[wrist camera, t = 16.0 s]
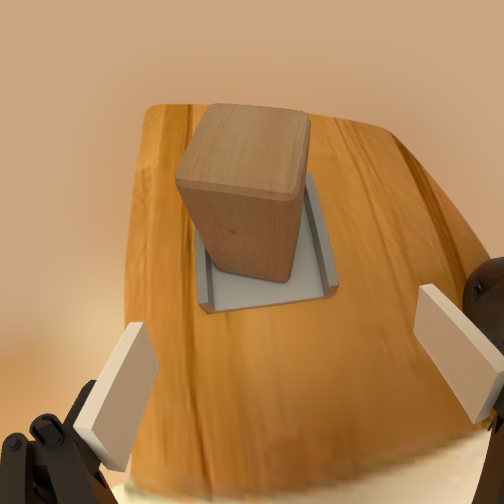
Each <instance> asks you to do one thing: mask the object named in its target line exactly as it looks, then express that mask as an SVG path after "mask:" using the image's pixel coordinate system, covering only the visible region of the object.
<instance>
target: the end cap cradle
mask: <svg viewBox="0 0 504 504" xmlns="http://www.w3.org/2000/svg"><path fill="white" fill-rule="evenodd" d="M195 250H196V274H197V294H198V304H199V305H200V306H201V307H202V309H203V310H204V311H205V312H206V313H207V314H209V313H218V312H227V311H235V310H243V309H251V308H259V307H267V306H274V305H282V304H289V303H296V302H302V301H309V300H316V299H322V298H328V297H332V296H333V295H334V293H335V291H336V289H337V287H338V286H339V282H338V277H337V273H336V268H335V264H334V259H333V255H332V251H331V246H330V242H329V238H328V234H327V230H326V226H325V222H324V218H323V214H322V210H321V206H320V202H319V199H318V195H317V191H316V188H315V184H314V180H313V177H312V173H306V180H305V190H304V199H303V208H302V216H301V224H300V229H299V235H298V240H297V246H296V251H295V256H294V261H293V267H292V272H291V277H290V278H289V279H288V281H287V282H276V281H271V280H266V279H260V278H255V277H250V276H245V275H240V274H234V273H229V272H224V271H220V270H218V269H217V268H215V266H214V264H213V262H212V260H211V258H210V256H209V254H208V252H207V250H206V248H205V246H204V243H203V241H202V239H201V237H200V235H199V233H198V231H197V229H196V227H195Z"/></svg>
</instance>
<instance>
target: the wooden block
mask: <svg viewBox="0 0 504 504" xmlns="http://www.w3.org/2000/svg"><path fill="white" fill-rule="evenodd" d="M310 128H311V122H310V120H309V118H308V114H307V113H305V112H302V111H297V110H290V109H281V108H272V107H262V106H249V105H237V104H217V103H216V104H212V105H210V106H208V107H207V109H206V111H205V112H204V114H203V116H202V118H201V120H200V122H199V124H198V126H197V128H196V130H195V132H194V134H193V136H192V138H191V140H190V143H189V145H188V147H187V149H186V151H185V153H184V155H183V157H182V159H181V162H180V164H179V166H178V168H177V170H176V174H175V184H176V186H177V188H178V191H179V193H180V195H181V197H182V199H183V201H184V203H185V206H186V208H187V210H188V212H189V214H190V216H191V218H192V220H193V223H194V225H195V227H196V229H197V231H198V233H199V235H200V237H201V239H202V241H203V243H204V246H205V248H206V250H207V252H208V254H209V256H210V258H211V260H212V262H213V264H214V266H215V268H217V269H218V270H220V271H224V272H229V273H234V274H240V275H245V276H250V277H255V278H260V279H266V280H271V281H276V282H287V281H288V279H289V278H290V277H291V272H292V267H293V261H294V256H295V251H296V246H297V240H298V235H299V229H300V224H301V216H302V208H303V199H304V190H305V180H306V171H307V161H308V150H309V139H310Z"/></svg>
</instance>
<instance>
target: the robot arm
mask: <svg viewBox="0 0 504 504" xmlns="http://www.w3.org/2000/svg"><path fill="white" fill-rule="evenodd" d="M463 307H464V314H463V313H462V312H461V311H460V310H459V309H458V308H457V307H456V306H455V305H454V304H453V303H452V302H451V301H450V300H449V299H448V298H447V297H446V296H445V295H444V294H443V293H442V292H441V291H440V290H439V289H438V288H436V287H435V286H434V285H433V284H427V285H422V286H419V292H418V301H417V308H416V316H415V322H414V329H413V334H414V335H415V337H416V338H417V339H418V341H419V342H420V344H421V345H422V346H423V348H424V349H425V351H426V352H427V354H428V355H429V356H430V358H431V359H432V361H433V362H434V364H435V365H436V367H437V368H438V370H439V371H440V373H441V374H442V376H443V377H444V379H445V380H446V382H447V383H448V385H449V386H450V388H451V389H452V391H453V392H454V394H455V396H456V397H457V399H458V400H459V402H460V403H461V405H462V407H463V408H464V410H465V411H466V413H467V415H468V416H469V418H470V420H471V421H472V423H473V424H475V423H478V422H480V421H482V420H484V419H486V418H488V416H489V414H490V412H491V411H492V409H493V408H494V409H495V411H496V412H497V413H496V415H495V417H494V419H493V420H492V422H491V424H490V426H489V428H488V430H487V431H490V429H491V428H492V432H491V437H490V442H489V446H488V450H487V455H486V458H485V462H484V466H483V470H482V473H481V477H480V480H479V483H478V486H477V490H476V493H475V496H474V498H473V501H472V504H504V257H500V258H494V259H490V260H488V261H486V262H484V263H483V264H482V265H480V266H479V267H478V268H477V269H475V270H474V271H473V273H472V274H471V275H470V277H469V279H468V281H467V284H466V287H465V291H464V299H463ZM159 367H160V365H159V362H158V359H157V357H156V354H155V352H154V349H153V346H152V343H151V341H150V338H149V335H148V332H147V329H146V327H145V324H144V322H130V323H129V325H128V326H127V328H126V330H125V331H124V333H123V335H122V336H121V338H120V340H119V342H118V343H117V345H116V347H115V349H114V351H113V352H112V354H111V356H110V358H109V359H108V361H107V363H106V365H105V367H104V368H103V370H102V372H101V374H100V376H99V377H98V379H97V380H90V381H89V382H88V383H87V384H86V385H85V386H84V387H83V388H82V390H81V391H80V393H79V395H78V398H76V401H75V402H74V405H73V406H72V408H71V409H70V411H69V413H68V415H67V417H66V419H65V421H64V423H63V424H62V423H61V422H60V421H59V419H58V418H57V417H56V416H55V415H53V414H43V415H40V416H39V417H37V418H36V419H35V420H34V421H33V422H32V424H31V426H30V433H31V435H32V436H33V437H34V438H35V440H36V441H29V440H28V439H27V438H26V437H25V436H24V435H23V434H21V433H13V434H11V435H9V436H8V437H7V438H6V439H5V441H4V442H3V445H2V452H1V460H0V504H118V502H117V501H116V499H115V497H114V495H113V493H112V491H111V490H110V488H109V486H108V484H107V482H106V480H105V478H104V476H103V474H102V473H101V471H100V470H99V466H100V463H101V462H102V464H103V465H104V466H105V467H106V468H107V469H108V470H112V471H119V472H125V470H126V467H127V464H128V460H129V457H130V454H131V451H132V448H133V445H134V441H135V438H136V435H137V432H138V429H139V426H140V423H141V420H142V417H143V414H144V411H145V408H146V405H147V402H148V399H149V396H150V393H151V390H152V387H153V384H154V382H155V379H156V376H157V373H158V370H159ZM492 426H493V427H492Z"/></svg>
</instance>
